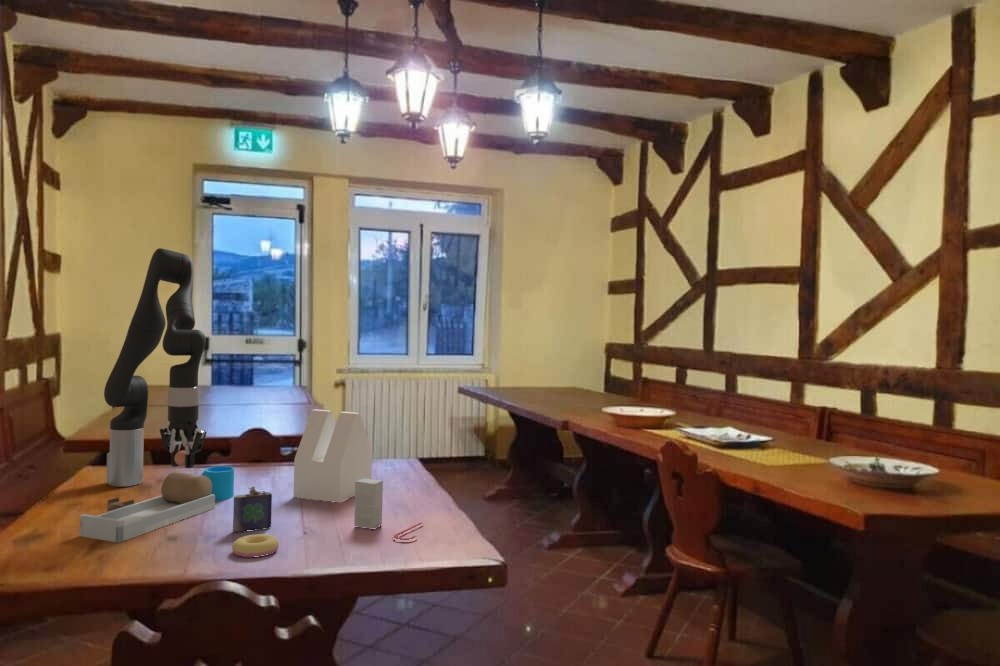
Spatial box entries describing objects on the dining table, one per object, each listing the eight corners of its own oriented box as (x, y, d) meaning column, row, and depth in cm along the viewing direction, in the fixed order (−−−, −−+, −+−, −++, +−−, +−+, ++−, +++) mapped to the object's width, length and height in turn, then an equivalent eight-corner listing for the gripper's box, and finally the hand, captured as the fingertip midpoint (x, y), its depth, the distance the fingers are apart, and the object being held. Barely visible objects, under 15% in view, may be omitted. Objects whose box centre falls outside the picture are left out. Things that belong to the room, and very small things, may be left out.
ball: (181, 463, 193) (182, 448, 193) (193, 464, 192) (194, 449, 192) (170, 466, 189) (171, 451, 189) (183, 467, 188) (183, 452, 188)
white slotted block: (339, 503, 204) (341, 417, 203) (293, 497, 209) (295, 413, 208) (371, 488, 222) (373, 409, 222) (328, 483, 227) (330, 406, 226)
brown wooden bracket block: (107, 512, 187) (107, 499, 187) (116, 509, 190) (116, 497, 190) (124, 515, 185) (125, 502, 185) (134, 512, 188) (134, 499, 188)
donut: (233, 558, 164) (235, 565, 155) (230, 538, 164) (232, 544, 155) (277, 546, 168) (282, 553, 159) (274, 527, 168) (278, 533, 159)
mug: (239, 496, 208) (240, 468, 208) (216, 502, 201) (216, 473, 201) (212, 490, 214) (213, 463, 214) (188, 495, 207) (189, 467, 207)
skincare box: (382, 526, 184) (383, 480, 184) (374, 530, 180) (375, 484, 180) (361, 523, 186) (363, 477, 186) (353, 527, 182) (354, 481, 181)
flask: (233, 533, 174) (234, 490, 173) (231, 530, 176) (232, 487, 176) (272, 529, 178) (273, 486, 178) (269, 526, 181) (270, 484, 181)
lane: (79, 536, 168) (80, 496, 168) (179, 503, 198) (180, 469, 198) (119, 542, 164) (119, 501, 164) (214, 508, 195) (215, 473, 194)
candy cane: (439, 530, 184) (439, 525, 184) (408, 546, 170) (408, 540, 170) (419, 527, 186) (419, 521, 186) (387, 542, 173) (387, 536, 173)
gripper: (214, 403, 191) (213, 466, 192) (172, 400, 196) (171, 462, 196) (195, 406, 184) (194, 472, 185) (151, 403, 189) (150, 467, 189)
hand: (182, 466), depth 190 cm, fingers closed on ball, 4 cm apart
